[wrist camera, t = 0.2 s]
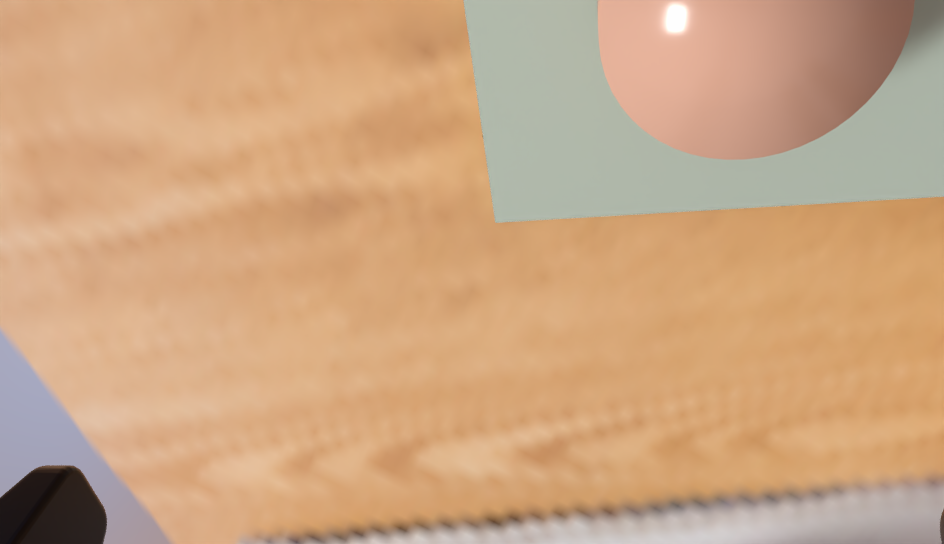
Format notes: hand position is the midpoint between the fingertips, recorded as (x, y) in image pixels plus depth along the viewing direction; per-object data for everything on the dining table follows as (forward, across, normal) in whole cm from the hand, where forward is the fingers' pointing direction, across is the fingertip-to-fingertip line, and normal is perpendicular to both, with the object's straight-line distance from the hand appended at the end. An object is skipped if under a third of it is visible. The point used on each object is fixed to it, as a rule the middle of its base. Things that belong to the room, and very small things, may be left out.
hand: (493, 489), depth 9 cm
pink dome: (+14, -4, +1) cm, 15 cm away
